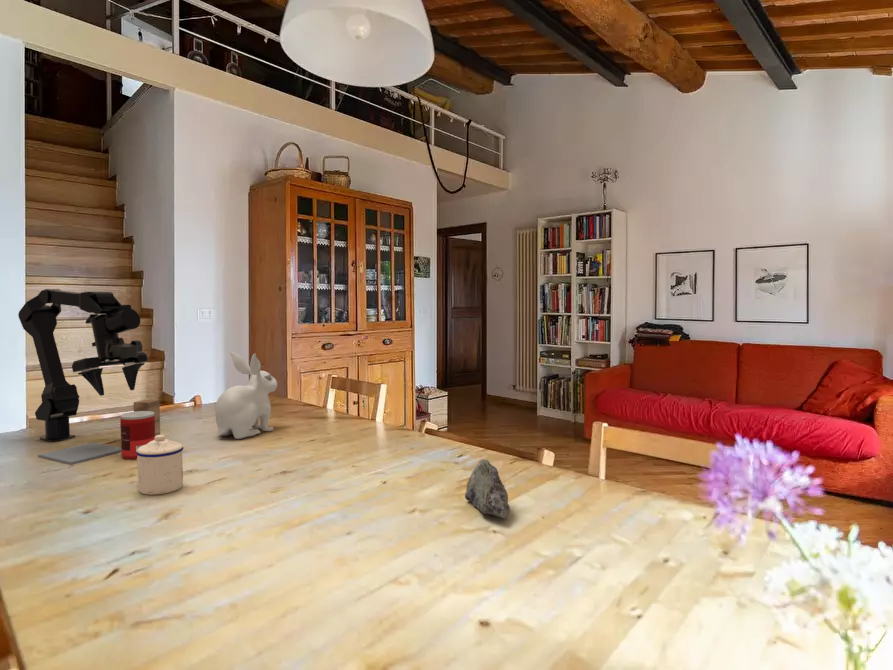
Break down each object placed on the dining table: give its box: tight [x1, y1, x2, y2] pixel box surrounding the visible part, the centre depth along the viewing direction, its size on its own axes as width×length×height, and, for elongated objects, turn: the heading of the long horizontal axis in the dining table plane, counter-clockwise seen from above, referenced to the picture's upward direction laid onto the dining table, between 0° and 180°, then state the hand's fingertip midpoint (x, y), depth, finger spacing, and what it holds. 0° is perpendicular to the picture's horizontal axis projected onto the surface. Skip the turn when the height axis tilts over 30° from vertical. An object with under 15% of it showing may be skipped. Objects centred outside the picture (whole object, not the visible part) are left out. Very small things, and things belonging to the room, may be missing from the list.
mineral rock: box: [464, 458, 511, 519], centre depth 111 cm, size 13×11×10 cm
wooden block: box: [133, 398, 161, 436], centre depth 159 cm, size 5×5×12 cm
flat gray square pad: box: [37, 441, 121, 466], centre depth 148 cm, size 14×14×1 cm
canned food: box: [119, 411, 155, 460], centre depth 147 cm, size 8×8×11 cm
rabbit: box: [215, 350, 278, 440], centre depth 171 cm, size 12×21×25 cm, turn 148°
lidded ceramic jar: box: [136, 434, 184, 496], centre depth 123 cm, size 12×9×12 cm
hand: (117, 392), depth 154 cm, fingers open, 9 cm apart
